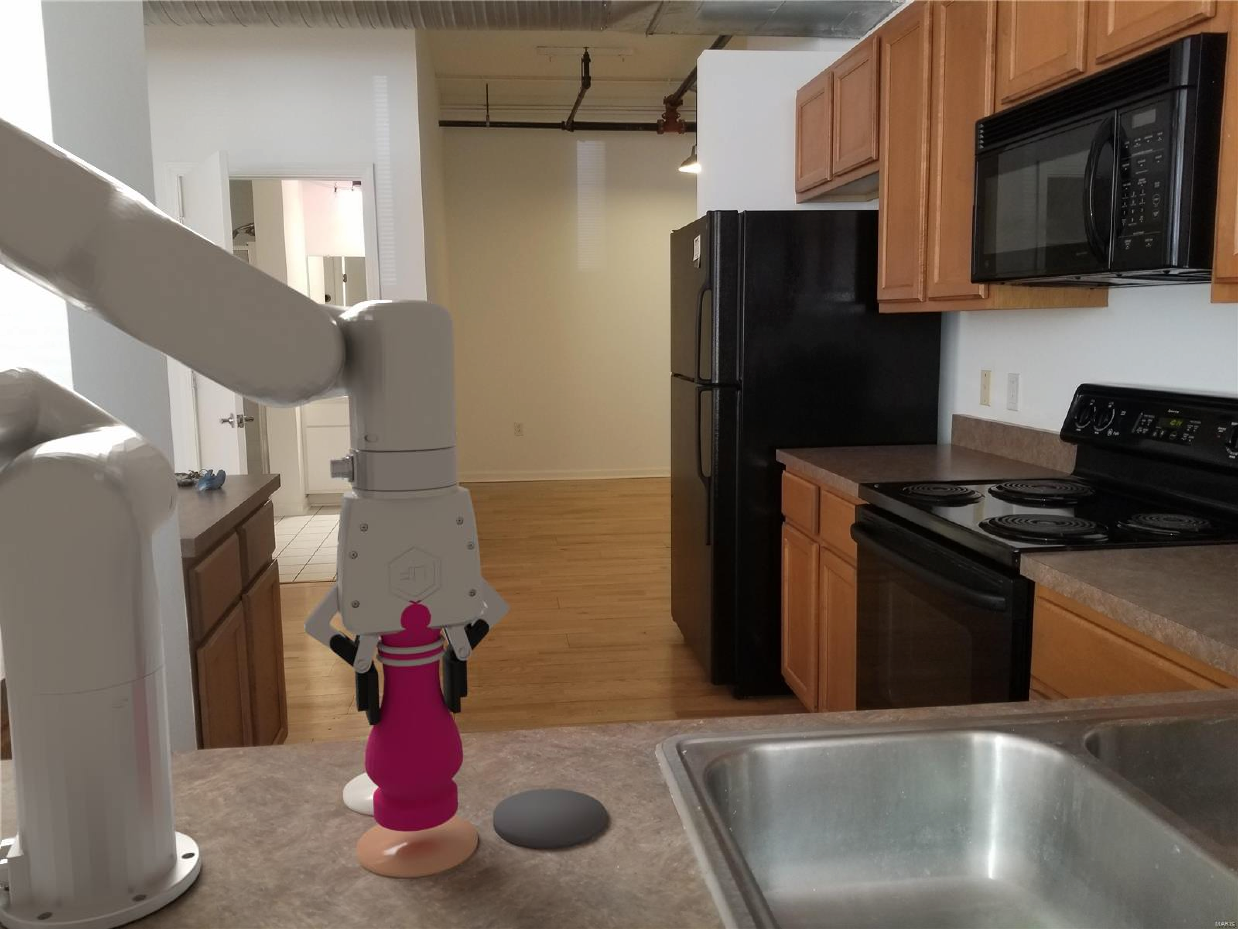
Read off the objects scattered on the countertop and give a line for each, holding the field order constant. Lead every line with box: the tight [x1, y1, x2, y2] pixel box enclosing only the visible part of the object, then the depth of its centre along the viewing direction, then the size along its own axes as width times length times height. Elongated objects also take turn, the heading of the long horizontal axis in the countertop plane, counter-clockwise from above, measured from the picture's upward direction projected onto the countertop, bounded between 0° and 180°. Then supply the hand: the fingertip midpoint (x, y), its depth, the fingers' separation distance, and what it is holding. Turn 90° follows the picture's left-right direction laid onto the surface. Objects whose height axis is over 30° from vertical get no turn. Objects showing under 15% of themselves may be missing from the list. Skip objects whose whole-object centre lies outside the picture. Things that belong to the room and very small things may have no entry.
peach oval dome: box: [355, 814, 479, 878], centre depth 73 cm, size 9×9×1 cm
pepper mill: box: [364, 600, 464, 832], centre depth 71 cm, size 7×7×20 cm
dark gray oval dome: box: [492, 788, 607, 850], centre depth 77 cm, size 9×9×1 cm
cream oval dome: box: [342, 771, 378, 817], centre depth 82 cm, size 9×9×1 cm
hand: (412, 710), depth 72 cm, fingers closed on pepper mill, 5 cm apart
